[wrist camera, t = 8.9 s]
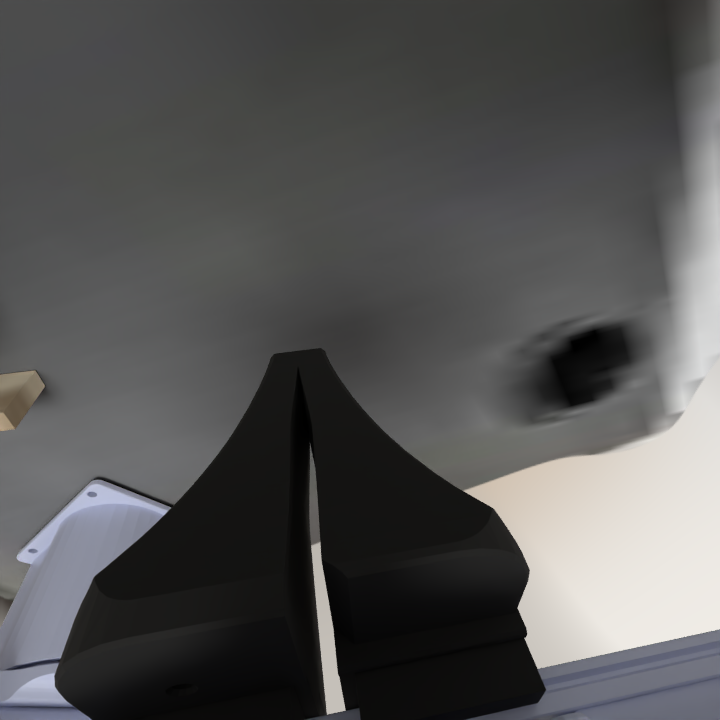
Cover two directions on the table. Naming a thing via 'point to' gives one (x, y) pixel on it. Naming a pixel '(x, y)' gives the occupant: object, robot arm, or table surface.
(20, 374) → the bracket
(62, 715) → the robot arm
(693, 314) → the table surface
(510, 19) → the table surface
